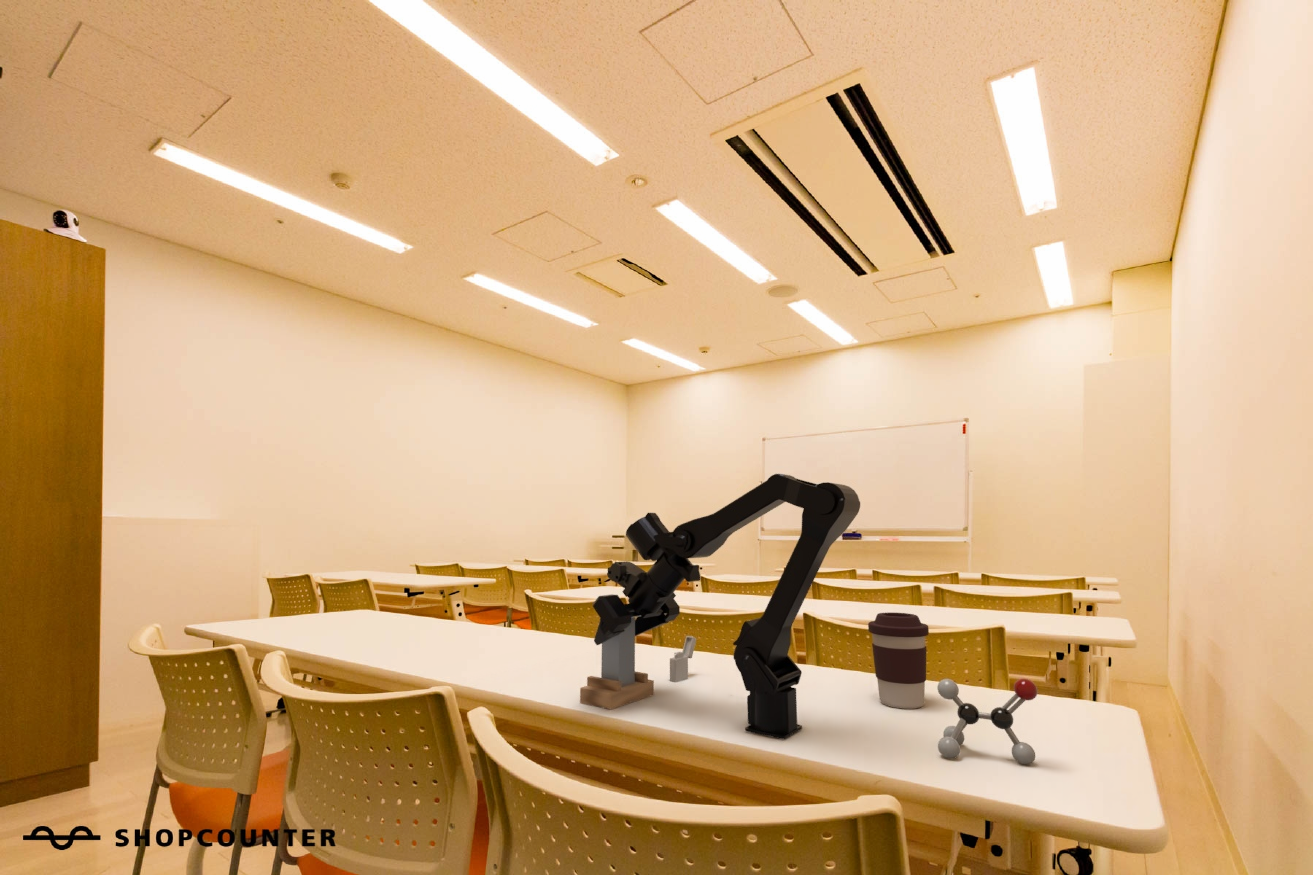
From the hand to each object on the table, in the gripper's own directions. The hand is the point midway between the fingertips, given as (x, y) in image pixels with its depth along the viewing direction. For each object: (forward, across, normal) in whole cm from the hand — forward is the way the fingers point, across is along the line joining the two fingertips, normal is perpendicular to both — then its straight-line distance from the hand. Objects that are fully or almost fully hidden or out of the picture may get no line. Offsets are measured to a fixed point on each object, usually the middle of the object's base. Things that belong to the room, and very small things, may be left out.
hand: (612, 639), depth 115 cm
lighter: (+6, -20, +8) cm, 23 cm away
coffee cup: (-23, -27, +38) cm, 52 cm away
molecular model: (-35, -7, +50) cm, 61 cm away
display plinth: (+6, 0, +8) cm, 10 cm away
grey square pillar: (+4, 0, +6) cm, 8 cm away
